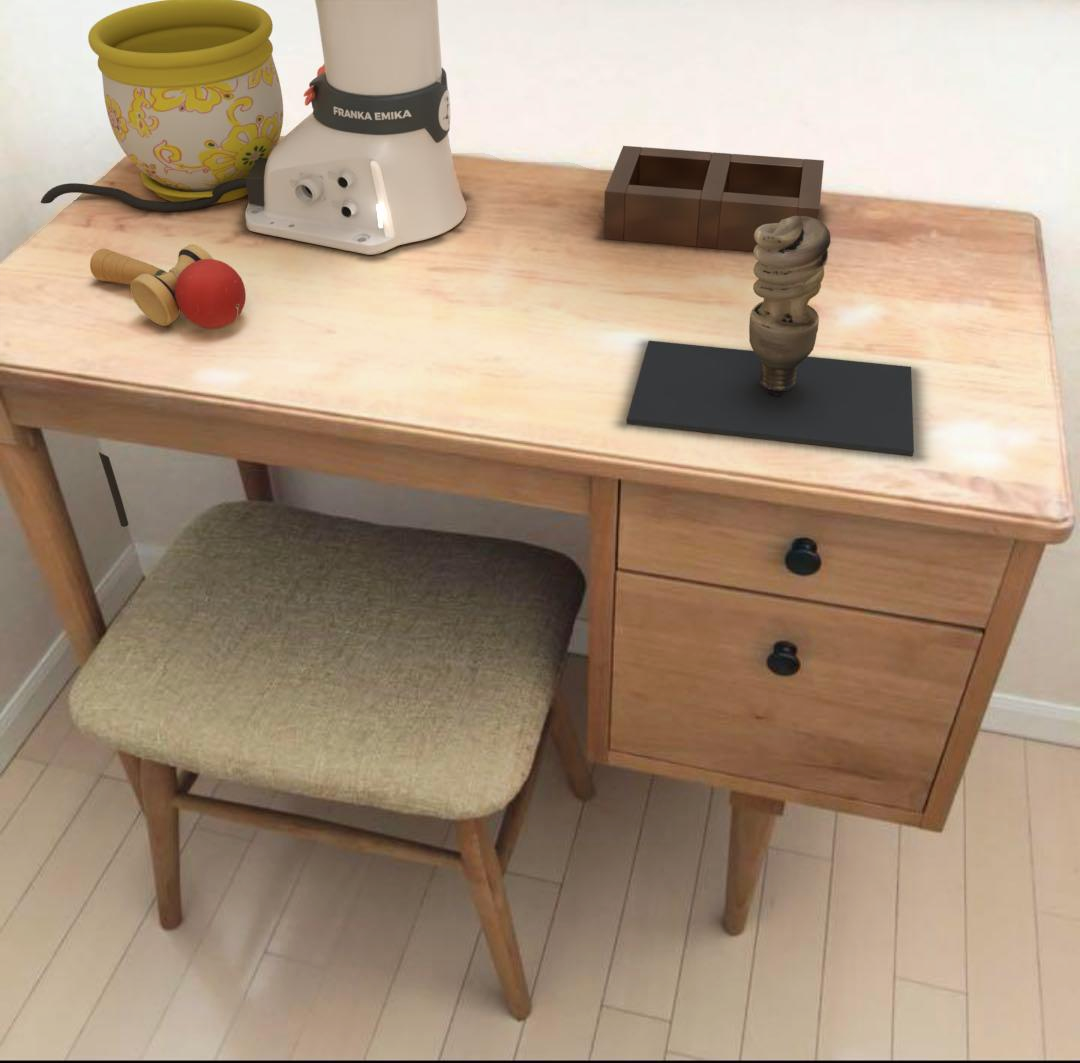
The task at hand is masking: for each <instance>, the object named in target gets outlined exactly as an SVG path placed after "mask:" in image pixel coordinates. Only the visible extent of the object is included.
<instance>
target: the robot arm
mask: <svg viewBox="0 0 1080 1063" xmlns="http://www.w3.org/2000/svg"><path fill="white" fill-rule="evenodd" d="M314 2H315V8H316V13H317V20H318V28H319V34H320V42H321V49H322V56H323V62H324V63H323V65H322V66H321V67H319V68H318V69H317V73H316V76H315V78H313V79H312V80H311V81H310V82H309V85H308V87H309V88H308V89H306V90H305V91H304V93H303V97H305V99H304V106H305V107H306V106H309V105H310V104H311V108H312V112H311V113H310V114H308V115H307V117H305V118H304V119H303V120H301V121H300V122H299V123H298V124H297V125H296V126H295V127H294V128H293V129H292V130H290V131H289V132H288V133H287V134H286V135H284V137H283V138H282V139H281V140H279V141H278V143H277V145H276V146H275V147H274V149H273V150H272V152H271V153H270V155H269V157H268V158H259V159H258V160H257V162H256V163H255V164H254V166H253V167H252V169H251V170H250V172H249V173H248V174H247V176H246V177H245V178H242V179H237V180H232V181H229V182H226V183H223V184H221V185H219V186H217V187H216V188H215V189H214V190H213V192H212V194H213V196H212V197H205V198H200V199H196V200H191V201H182V202H171V201H166V200H165V201H164V200H163V201H162V200H148V199H143V198H140V197H137V196H134V195H133V194H131V193H129V192H127V191H125V190H123V189H120V188H117V187H116V188H115V187H110V186H102V185H94V184H88V183H80V182H79V183H78V182H75V183H74V182H69V183H62V184H59V185H55V186H54V187H52V188H50V189H49V190H47V192H45V194H44V195H43V196H42V198H41V200H40V204H51V203H53V201H55V199H57V198H58V197H60V196H62V195H66V194H73V193H74V194H87V195H93V196H94V195H95V196H102V197H109V198H115V199H117V200H120V201H122V202H124V203H126V204H128V205H130V206H132V207H135V208H137V209H142V210H147V211H160V212H186V211H193V210H198V209H205V208H207V207H210V206H212V205H214V203H216V202H217V201H218V200H219V199H220V198H221V196H222V195H224V194H225V193H227V192H230V191H232V190H236V189H241V188H246V187H247V193H248V195H247V196H248V197H247V199H248V203H247V205H246V208H245V213H244V216H245V226H246V228H247V230H248V231H250V232H253V233H258V234H262V235H266V236H272V237H278V238H283V239H287V240H292V241H297V242H303V243H307V244H312V245H318V246H322V247H328V248H331V249H332V248H333V249H338V250H342V251H347V252H353V253H356V254H357V253H358V254H362V255H369V256H371V255H373V256H374V255H378V254H382V253H384V252H387V251H389V250H392V249H394V248H397V247H399V246H400V245H401V246H402V245H405V244H410V243H415V242H421V241H424V240H429V239H431V238H434V237H437V236H440V235H442V234H445V233H447V232H448V231H450V230H452V229H453V228H455V227H456V226H457V225H459V224H460V223H461V222H462V221H463V219H464V218H465V217H466V214H467V210H468V207H467V203H466V200H465V198H464V196H463V193H462V190H461V187H460V184H459V179H458V176H457V172H456V168H455V164H454V159H453V153H452V149H451V143H450V137H449V133H450V126H451V100H450V92H449V91H450V90H449V89H448V78H447V72H446V70H445V69H444V67H442V66H443V65H442V51H441V36H440V35H441V34H440V20H439V19H440V18H439V4H438V0H314ZM216 204H217V203H216ZM98 455H99V458H100V461H101V464H102V467H103V470H104V473H105V477H106V480H107V483H108V487H109V490H110V493H111V496H112V499H113V504H114V506H115V507H114V508H115V510H116V513H117V518H118V520H119V524H120V526H121V527H122V528H126V527H127V526H129V521H128V516H127V514H126V510H125V506H124V503H123V498H122V496H121V492H120V489H119V485H118V483H117V479H116V475H115V473H114V469H113V466H112V462H111V459H110V457H109V456H108V455H106V454H105V453H102V452H101V451H99V452H98Z"/></svg>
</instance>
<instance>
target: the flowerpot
mask: <svg viewBox="0 0 1080 1063" xmlns="http://www.w3.org/2000/svg"><path fill="white" fill-rule="evenodd" d="M273 25H274V24H273V20H272V17H271V16H270V14H269V13H268V12H267V11H266V10H265V9H263V8H261V7H260V6H258V5H255V4H252V3H250V2H245V1H242V0H157V1H152V2H148V3H147V2H146V3H142V4H137V5H134V6H130V7H127V8H124V9H121V10H118V11H116V12H113V13H111V14H109V15H107V16H105V17H103V18H101V19H99V20H98V21H97V22H96V23H95V24H93V25H92V27H91V28H90V30H89V31H88V36H87V39H88V44H89V47H90V48H91V50H92V51H93V52H94V54H95V55H96V56H98V59H97V68H98V70H99V71H100V73H101V77H102V88H103V89H102V90H103V97H104V104H105V108H106V113H107V117H108V120H109V124H110V127H111V130H112V133H113V135H114V137H115V139H116V141H117V143H118V145H119V147H120V148H121V149H122V151H123V152H124V154H125V155H126V156H127V157H128V159H129V160H130V161H131V162H132V163H133V165H135V166H136V167H137V168H138V169H139V170H140V174H139V175H140V181H141V183H142V184H143V185H144V186H145V187H146V188H147V189H149V190H150V191H152V192H153V193H154V194H155V195H156V196H158V197H159V198H161V199H163V200H165V201H167V202H182V201H191V200H196V199H200V198H205V197H212V196H213V194H212V192H213V190H214V189H215V188H216V187H217V186H219V185H221V184H223V183H226V182H229V181H232V180H237V179H242V178H245V177H246V176H247V174H248V173H249V172H250V170H251V169H252V167H253V166H254V164H255V163H256V162H257V160H258V159H259V158H268V157H269V155H270V153H271V152H272V150H273V149H274V147H275V146H276V145H277V144H278V143H279V142H280V137H281V134H282V130H283V124H284V99H283V94H282V87H281V82H280V78H279V73H278V70H277V67H276V63H275V61H274V57H273V50H274V46H273V43H272V41H271V40H270V37H271V35H272V32H273V28H274V26H273ZM247 196H248V193H247V187H246V188H241V189H236V190H232V191H230V192H227V193H225V194H224V195H222V196H221V198H220V199H219V200H218V201H217V202H216V203H214V204H223V203H226V202H231V201H234V200H239V199H242V198H244V197H247ZM214 204H213V205H214Z"/></svg>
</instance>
